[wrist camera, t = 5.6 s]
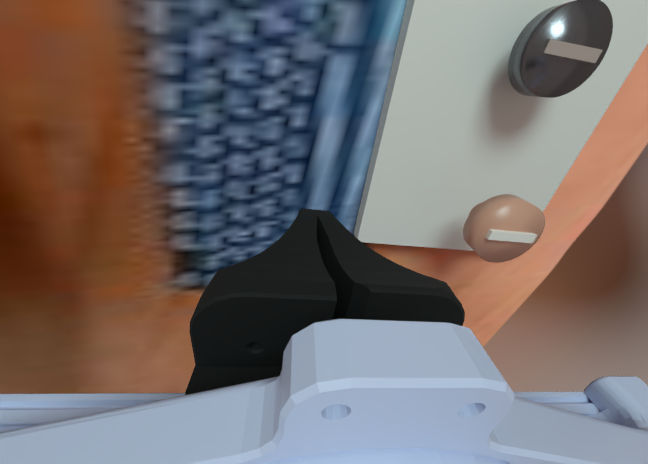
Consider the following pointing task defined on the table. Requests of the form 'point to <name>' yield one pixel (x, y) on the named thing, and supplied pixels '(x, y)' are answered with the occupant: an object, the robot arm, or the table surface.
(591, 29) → the graphite knob
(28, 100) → the table surface
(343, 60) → the table surface
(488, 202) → the light brown knob
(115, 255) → the table surface
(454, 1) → the knob panel
